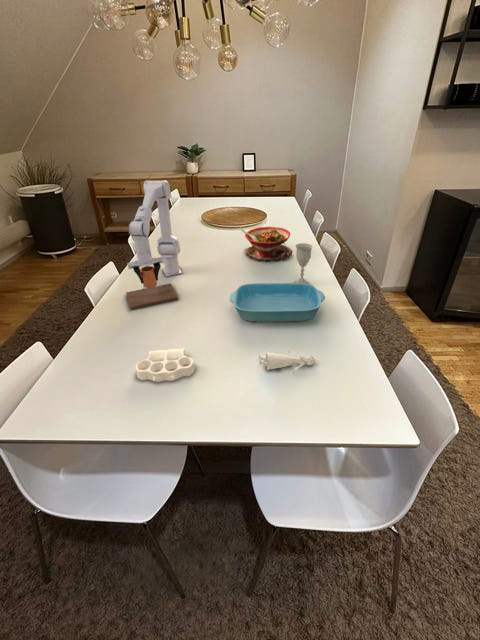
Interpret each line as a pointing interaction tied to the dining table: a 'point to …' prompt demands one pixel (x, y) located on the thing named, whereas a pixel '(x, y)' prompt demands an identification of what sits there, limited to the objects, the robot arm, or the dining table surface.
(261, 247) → the stew
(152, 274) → the tumbler
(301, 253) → the chalice
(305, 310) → the casserole dish
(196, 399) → the dining table surface
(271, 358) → the woman figurine
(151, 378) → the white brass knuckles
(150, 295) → the serving board
